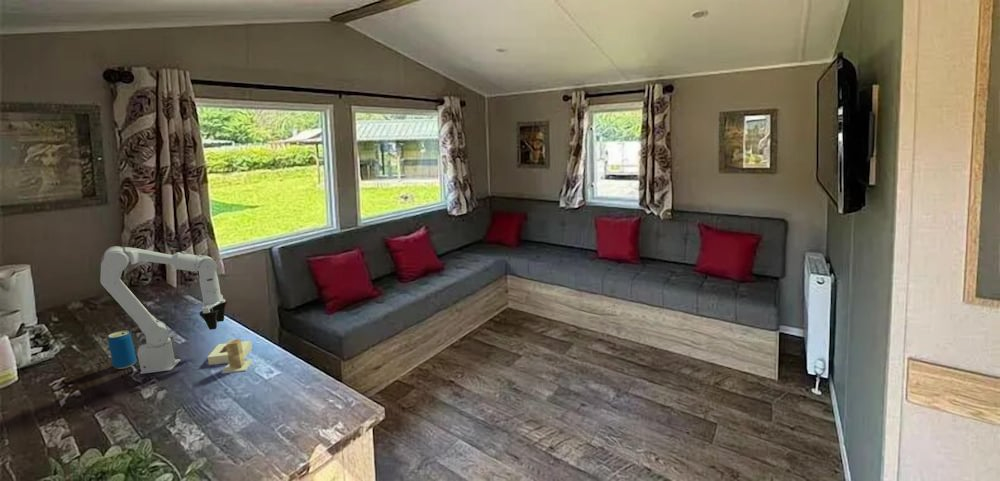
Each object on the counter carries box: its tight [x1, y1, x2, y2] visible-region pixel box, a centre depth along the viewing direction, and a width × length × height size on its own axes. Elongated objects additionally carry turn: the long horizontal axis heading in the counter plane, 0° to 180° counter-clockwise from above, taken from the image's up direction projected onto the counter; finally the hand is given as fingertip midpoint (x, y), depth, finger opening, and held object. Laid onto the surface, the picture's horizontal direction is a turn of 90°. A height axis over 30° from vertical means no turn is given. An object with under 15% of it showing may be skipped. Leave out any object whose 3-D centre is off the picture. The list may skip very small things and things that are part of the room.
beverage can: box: [107, 330, 138, 370], centre depth 169 cm, size 6×6×12 cm
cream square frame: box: [207, 340, 253, 366], centre depth 174 cm, size 11×11×3 cm
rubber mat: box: [221, 359, 253, 375], centre depth 166 cm, size 8×8×1 cm
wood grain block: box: [226, 338, 245, 369], centre depth 165 cm, size 4×4×9 cm
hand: (216, 325), depth 177 cm, fingers open, 7 cm apart
